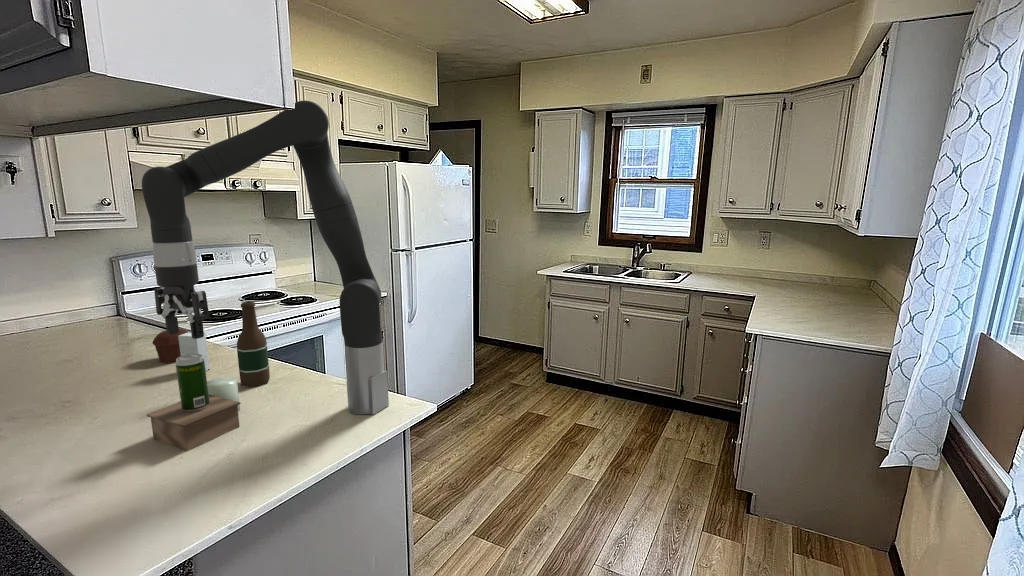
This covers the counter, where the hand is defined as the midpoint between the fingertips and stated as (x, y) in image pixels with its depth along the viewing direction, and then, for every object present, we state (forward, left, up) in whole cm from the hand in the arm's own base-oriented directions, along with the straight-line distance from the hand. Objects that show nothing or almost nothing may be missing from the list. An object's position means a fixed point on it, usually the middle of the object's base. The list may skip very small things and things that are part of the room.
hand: (185, 335), depth 107 cm
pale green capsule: (+5, -10, -23) cm, 26 cm away
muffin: (+58, -31, -23) cm, 70 cm away
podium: (0, 0, -23) cm, 23 cm away
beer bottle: (+15, -27, -23) cm, 39 cm away
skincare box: (+40, -26, -23) cm, 53 cm away
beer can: (0, 0, -17) cm, 17 cm away
